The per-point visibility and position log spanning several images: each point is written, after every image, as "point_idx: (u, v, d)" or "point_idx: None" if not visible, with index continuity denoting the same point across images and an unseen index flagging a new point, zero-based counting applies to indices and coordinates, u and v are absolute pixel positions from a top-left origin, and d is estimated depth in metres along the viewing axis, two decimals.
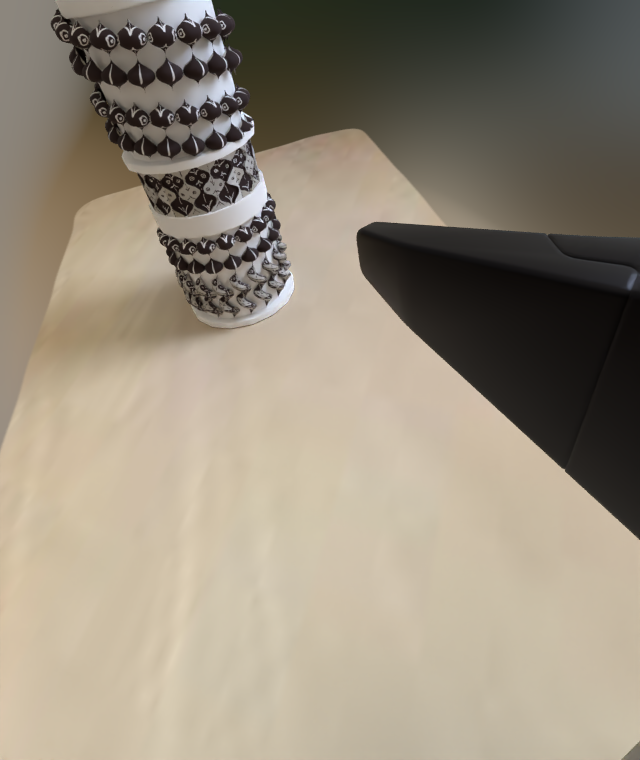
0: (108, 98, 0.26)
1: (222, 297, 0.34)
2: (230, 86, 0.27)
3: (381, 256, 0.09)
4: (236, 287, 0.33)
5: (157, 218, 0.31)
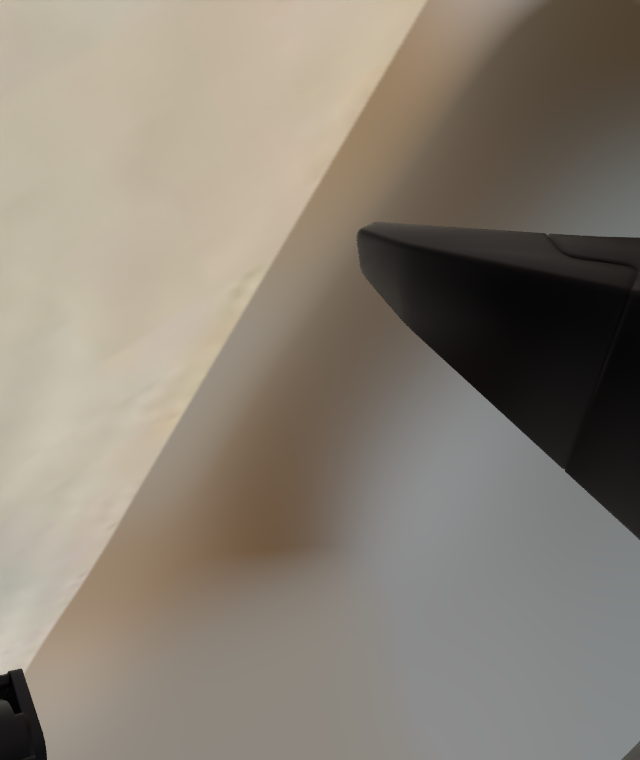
0: None
1: None
2: None
3: (381, 256, 0.09)
4: None
5: None
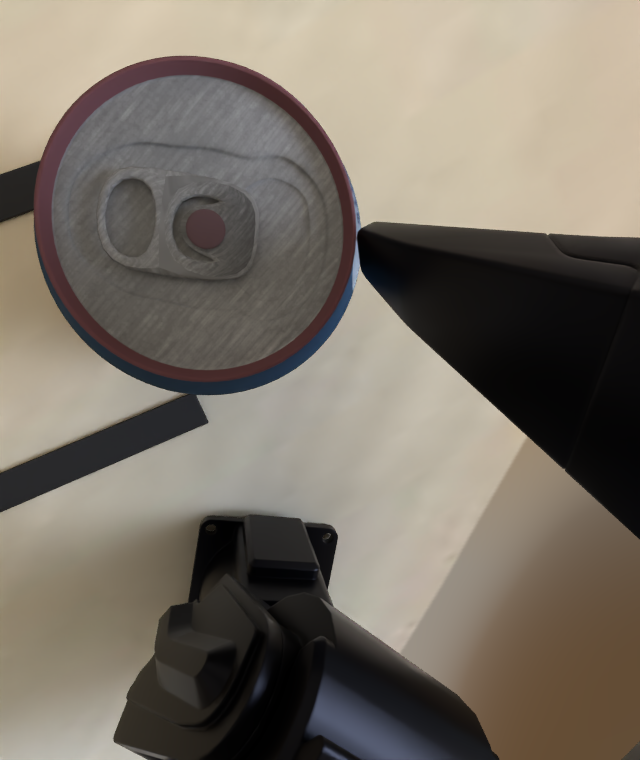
0: None
1: None
2: None
3: (381, 256, 0.09)
4: None
5: None
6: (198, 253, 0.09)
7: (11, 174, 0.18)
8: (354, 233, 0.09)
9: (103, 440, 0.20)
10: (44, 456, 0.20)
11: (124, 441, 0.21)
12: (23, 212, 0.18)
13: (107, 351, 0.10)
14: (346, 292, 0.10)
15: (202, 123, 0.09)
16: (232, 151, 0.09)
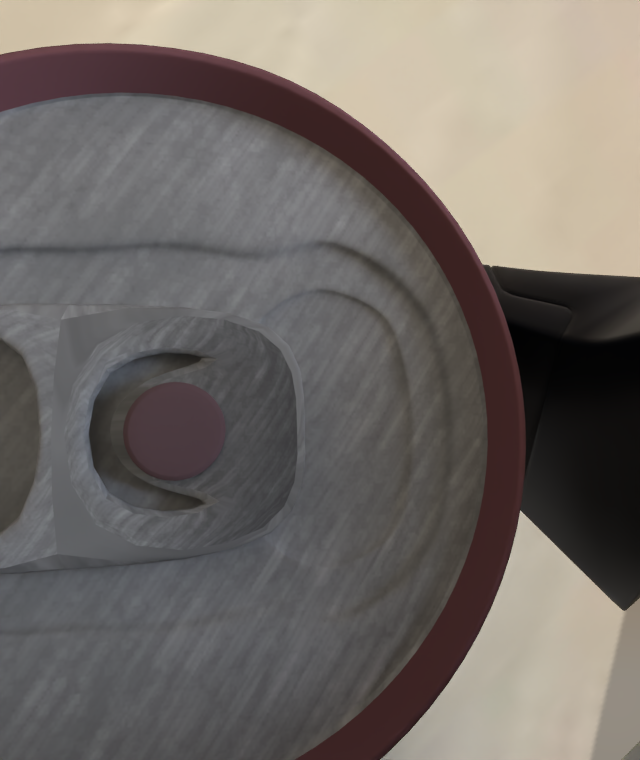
0: None
1: None
2: None
3: None
4: None
5: None
6: (162, 485, 0.04)
7: None
8: (518, 382, 0.04)
9: None
10: None
11: None
12: None
13: None
14: None
15: (145, 191, 0.04)
16: (220, 245, 0.04)
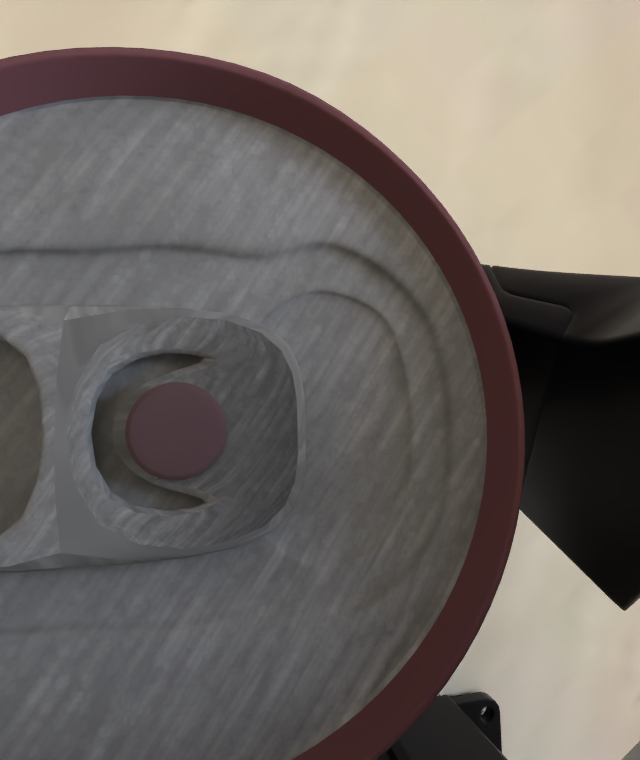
0: None
1: None
2: None
3: None
4: None
5: None
6: (164, 484, 0.04)
7: None
8: (517, 382, 0.04)
9: None
10: None
11: None
12: None
13: None
14: None
15: (147, 194, 0.04)
16: (222, 247, 0.04)
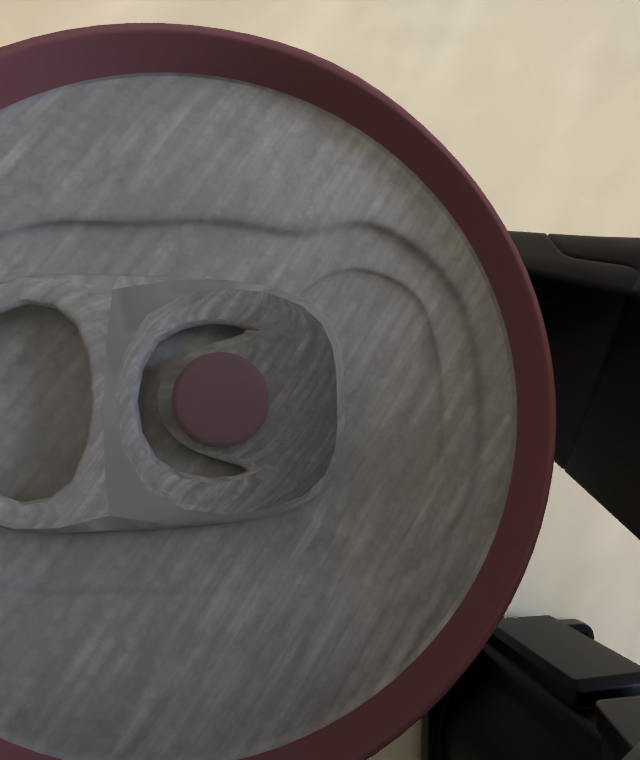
0: None
1: None
2: None
3: None
4: None
5: None
6: (205, 455, 0.04)
7: None
8: (549, 359, 0.04)
9: None
10: None
11: None
12: None
13: None
14: None
15: (190, 169, 0.04)
16: (262, 223, 0.04)
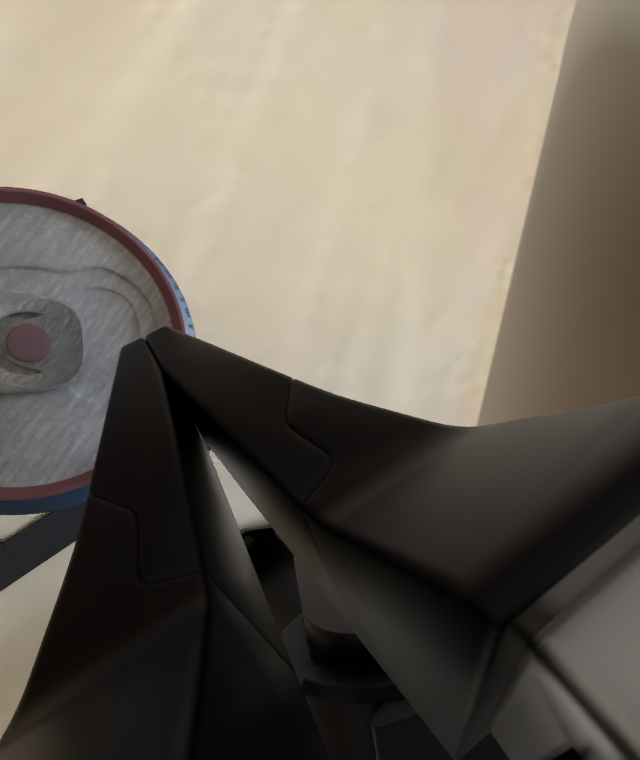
0: None
1: None
2: None
3: None
4: None
5: None
6: (23, 367, 0.09)
7: None
8: (182, 327, 0.10)
9: None
10: None
11: None
12: None
13: None
14: None
15: (12, 244, 0.09)
16: (48, 268, 0.09)
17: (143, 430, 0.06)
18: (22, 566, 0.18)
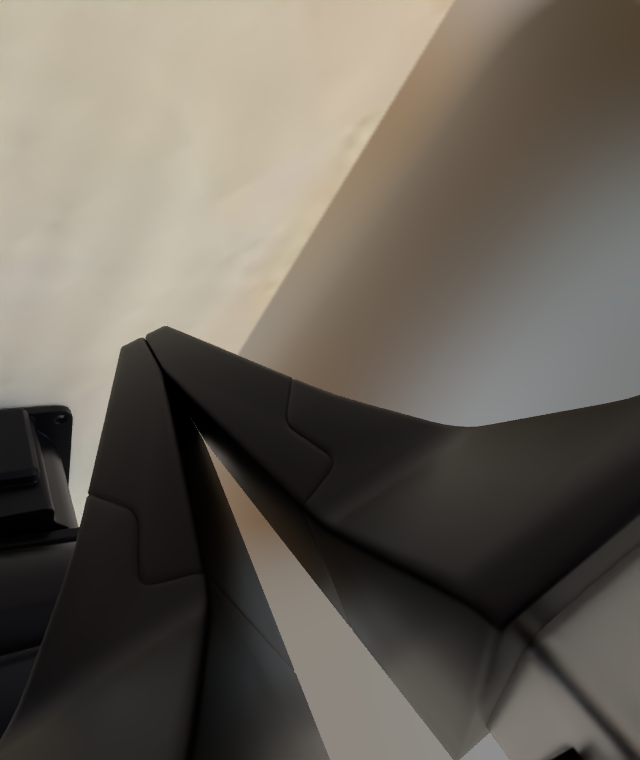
0: None
1: None
2: None
3: None
4: None
5: None
6: None
7: None
8: None
9: None
10: None
11: None
12: None
13: None
14: None
15: None
16: None
17: (143, 430, 0.06)
18: None
